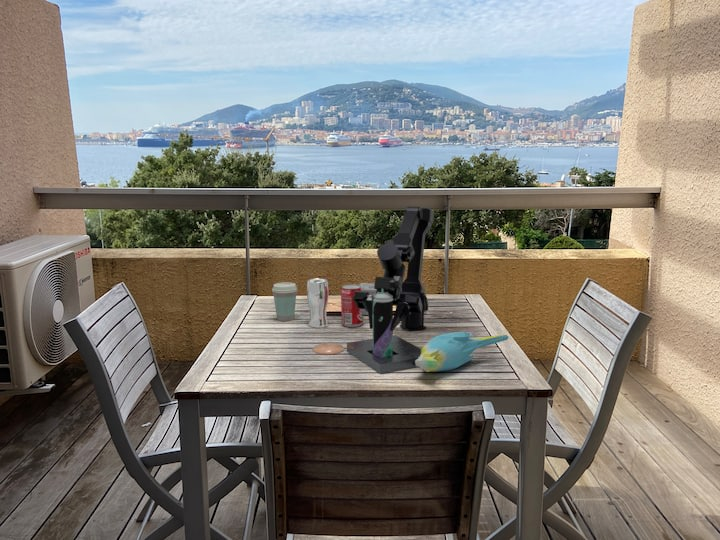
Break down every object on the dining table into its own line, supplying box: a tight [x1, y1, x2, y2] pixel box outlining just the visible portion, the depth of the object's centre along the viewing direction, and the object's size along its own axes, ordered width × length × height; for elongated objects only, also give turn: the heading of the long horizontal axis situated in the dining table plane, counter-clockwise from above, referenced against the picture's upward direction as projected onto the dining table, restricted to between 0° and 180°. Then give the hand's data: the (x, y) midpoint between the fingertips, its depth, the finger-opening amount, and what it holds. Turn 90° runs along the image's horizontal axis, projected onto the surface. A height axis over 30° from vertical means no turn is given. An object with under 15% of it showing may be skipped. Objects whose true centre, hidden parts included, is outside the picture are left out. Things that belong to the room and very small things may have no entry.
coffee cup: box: [271, 281, 298, 322], centre depth 208 cm, size 9×8×12 cm
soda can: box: [340, 283, 364, 328], centre depth 200 cm, size 7×7×13 cm
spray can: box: [372, 287, 394, 358], centre depth 165 cm, size 6×6×20 cm
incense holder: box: [359, 282, 376, 316], centre depth 214 cm, size 10×8×10 cm
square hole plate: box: [346, 334, 422, 375], centre depth 170 cm, size 16×20×2 cm
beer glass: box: [306, 277, 329, 329], centre depth 200 cm, size 7×7×15 cm
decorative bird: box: [412, 331, 509, 373], centre depth 162 cm, size 14×30×9 cm, turn 133°
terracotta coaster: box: [312, 342, 345, 356], centre depth 177 cm, size 9×9×1 cm
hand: (381, 329), depth 164 cm, fingers closed on spray can, 5 cm apart
